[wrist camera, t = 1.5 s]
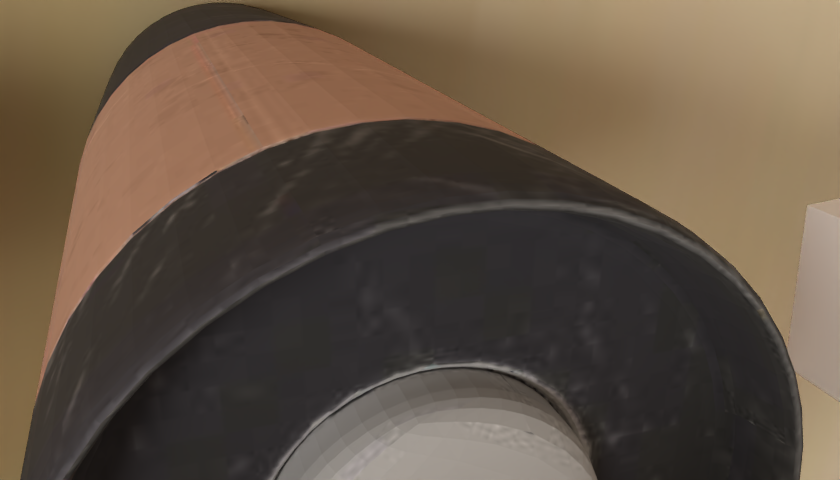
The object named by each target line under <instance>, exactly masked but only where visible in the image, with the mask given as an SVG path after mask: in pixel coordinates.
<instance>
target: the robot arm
mask: <svg viewBox="0 0 840 480" xmlns="http://www.w3.org/2000/svg"><path fill="white" fill-rule="evenodd" d="M787 351H788V354H789V357H790V359H791V362H792V365H793V368H794V371H795V372H796V373H797V374H799V375H800V376H802V377H803V378H805V379H806V380H808V381H809V382H811V383H812V384H814V385H815V386H816V387H818V388H819V389H821V390H822V391H824V392H825V393H827V394H828V395H830V396H831V397H833V398H834V399H836V400H837V401H839V402H840V198H839V199H834V200H829V201H824V202H819V203H814V204H809V205H807V210H806V217H805V224H804V231H803V239H802V246H801V253H800V260H799V267H798V275H797V282H796V289H795V296H794V303H793V311H792V318H791V325H790V332H789V340H788V347H787Z"/></svg>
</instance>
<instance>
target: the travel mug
mask: <svg viewBox="0 0 840 480" xmlns="http://www.w3.org/2000/svg"><path fill="white" fill-rule="evenodd" d="M802 452H803V428H802V407H801V401H800V396H799V391H798V385H797V380H796V374H795V371H794V368H793V365H792V362H791V359H790V357H789V354H788V351H787V348H786V345H785V343H784V340H783V337H782V335H781V334H780V332H779V330H778V328H777V326H776V325H775V323H774V321H773V319H772V318H771V316H770V314H769V312H768V311H767V309H766V307H765V305H764V304H763V302H762V300H761V298H760V297H759V296H758V295H757V293H756V292H755V291H754V290H753V289H752V287H751V286H750V285H749V284H748V283H747V281H746V280H745V279H744V278H743V277H742V276H741V274H740V273H739V272H738V271H737V270H736V268H735V267H734V266H733V265H731V264H730V263H729V262H728V261H727V260H726V259H725V258H724V257H722V256H721V255H720V254H719V253H717V252H716V251H715V250H714V249H713V248H711V247H710V246H709V245H708V244H707V243H705V242H704V241H703V240H702V239H700V238H699V237H698V236H697V235H696V234H694V233H693V232H692V231H690V230H689V229H687V228H686V227H684V226H683V225H681V224H680V223H678V222H677V221H675V220H673V219H671V218H670V217H668V216H666V215H664V214H662V213H661V212H659V211H657V210H655V209H654V208H652V207H650V206H648V205H647V204H645V203H643V202H641V201H640V200H638V199H636V198H634V197H632V196H630V195H629V194H627V193H625V192H623V191H621V190H619V189H617V188H616V187H614V186H612V185H610V184H608V183H606V182H605V181H603V180H601V179H599V178H597V177H595V176H593V175H592V174H590V173H588V172H586V171H584V170H582V169H581V168H579V167H577V166H575V165H573V164H571V163H570V162H568V161H566V160H564V159H562V158H560V157H558V156H557V155H555V154H553V153H551V152H549V151H547V150H546V149H544V148H542V147H540V146H538V145H536V144H534V143H532V142H531V141H529V140H527V139H525V138H523V137H522V136H520V135H518V134H516V133H514V132H512V131H511V130H509V129H507V128H505V127H503V126H501V125H500V124H498V123H496V122H494V121H492V120H490V119H488V118H487V117H485V116H483V115H481V114H479V113H477V112H476V111H474V110H472V109H470V108H468V107H466V106H465V105H463V104H461V103H459V102H457V101H455V100H454V99H452V98H450V97H448V96H446V95H444V94H443V93H441V92H439V91H437V90H435V89H433V88H432V87H430V86H428V85H426V84H424V83H422V82H421V81H419V80H417V79H415V78H413V77H411V76H410V75H408V74H406V73H404V72H402V71H400V70H399V69H397V68H395V67H393V66H391V65H389V64H387V63H386V62H384V61H382V60H380V59H378V58H376V57H375V56H373V55H371V54H369V53H367V52H365V51H364V50H362V49H360V48H358V47H356V46H354V45H353V44H351V43H349V42H347V41H345V40H343V39H342V38H339V37H337V36H334V35H332V34H329V33H327V32H324V31H322V30H319V29H316V28H314V27H311V26H308V25H305V24H302V23H300V22H297V21H294V20H291V19H288V18H285V17H282V16H280V15H277V14H274V13H271V12H268V11H265V10H262V9H258V8H254V7H250V6H246V5H241V4H232V3H208V4H202V5H195V6H191V7H188V8H184V9H181V10H178V11H176V12H173V13H171V14H169V15H167V16H165V17H163V18H161V19H160V20H158V21H156V22H155V23H153V24H152V25H150V26H149V27H148V28H147V29H145V30H144V31H143V32H142V33H141V34H140V35H138V36H137V37H136V38H135V40H134V41H133V42H132V43H131V44H130V45H129V46H128V48H127V49H126V50H125V52H124V53H123V55H122V56H121V58H120V60H119V61H118V63H117V65H116V67H115V69H114V71H113V73H112V76H111V78H110V80H109V82H108V85H107V87H106V90H105V92H104V95H103V98H102V100H101V103H100V106H99V108H98V111H97V114H96V116H95V119H94V121H93V124H92V127H91V129H90V132H89V135H88V138H87V141H86V144H85V148H84V151H83V155H82V158H81V161H80V166H79V171H78V177H77V182H76V187H75V192H74V198H73V203H72V208H71V214H70V219H69V224H68V230H67V235H66V240H65V246H64V251H63V256H62V262H61V267H60V272H59V278H58V283H57V288H56V293H55V299H54V304H53V309H52V315H51V320H50V325H49V331H48V336H47V341H46V347H45V352H44V357H43V363H42V368H41V373H40V379H39V384H38V389H37V394H36V401H35V406H34V410H33V415H32V421H31V426H30V431H29V437H28V442H27V447H26V452H25V458H24V463H23V468H22V474H21V479H20V480H800V472H801V462H802Z"/></svg>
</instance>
